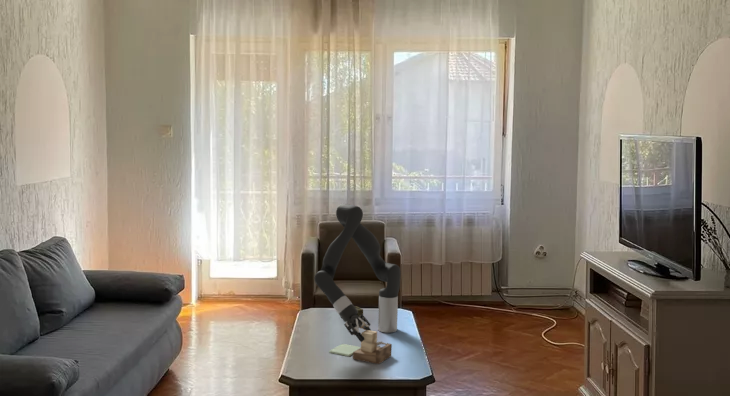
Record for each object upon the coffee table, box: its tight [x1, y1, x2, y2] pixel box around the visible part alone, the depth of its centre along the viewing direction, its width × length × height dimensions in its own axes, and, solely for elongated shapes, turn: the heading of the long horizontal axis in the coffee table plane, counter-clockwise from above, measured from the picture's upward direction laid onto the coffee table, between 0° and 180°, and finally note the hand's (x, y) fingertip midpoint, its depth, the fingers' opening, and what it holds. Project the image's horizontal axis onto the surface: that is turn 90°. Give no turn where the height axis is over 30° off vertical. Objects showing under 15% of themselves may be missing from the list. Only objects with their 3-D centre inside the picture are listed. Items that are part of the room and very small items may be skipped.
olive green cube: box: [354, 305, 364, 317], centre depth 370 cm, size 7×7×7 cm
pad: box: [328, 343, 361, 357], centre depth 322 cm, size 12×10×1 cm
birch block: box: [360, 330, 378, 353], centre depth 314 cm, size 5×5×8 cm
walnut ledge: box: [352, 342, 393, 365], centre depth 313 cm, size 12×12×6 cm
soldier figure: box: [377, 340, 388, 348], centre depth 327 cm, size 8×5×12 cm
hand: (367, 338), depth 314 cm, fingers open, 8 cm apart
